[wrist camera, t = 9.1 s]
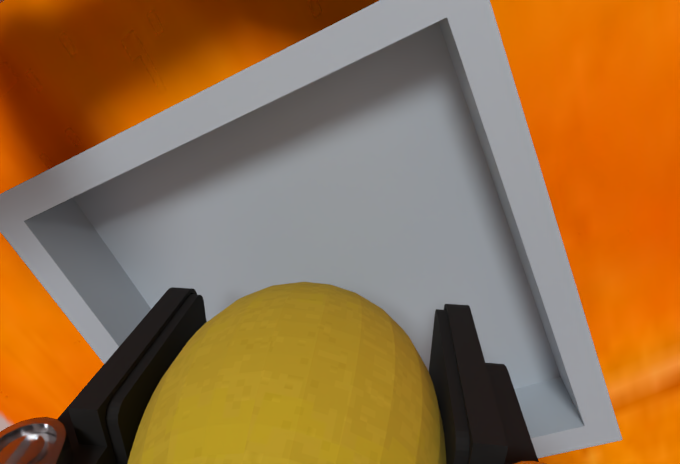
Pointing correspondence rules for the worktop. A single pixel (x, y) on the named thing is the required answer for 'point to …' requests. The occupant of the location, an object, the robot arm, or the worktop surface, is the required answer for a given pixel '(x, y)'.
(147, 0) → the worktop surface
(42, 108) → the worktop surface
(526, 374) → the tray
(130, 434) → the robot arm
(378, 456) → the lemon
